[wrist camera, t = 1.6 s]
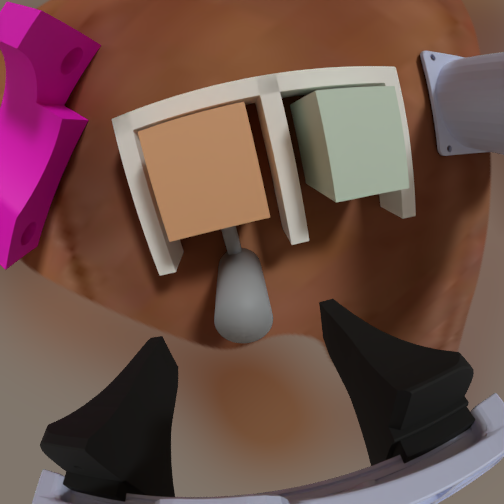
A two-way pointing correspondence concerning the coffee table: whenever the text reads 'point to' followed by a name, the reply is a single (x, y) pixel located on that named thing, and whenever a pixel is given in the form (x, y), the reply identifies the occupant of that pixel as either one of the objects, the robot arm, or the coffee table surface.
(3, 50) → the toy block
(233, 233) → the handled block
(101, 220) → the coffee table surface
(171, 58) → the coffee table surface
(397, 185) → the green block
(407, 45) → the coffee table surface
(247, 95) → the rack
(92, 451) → the robot arm
